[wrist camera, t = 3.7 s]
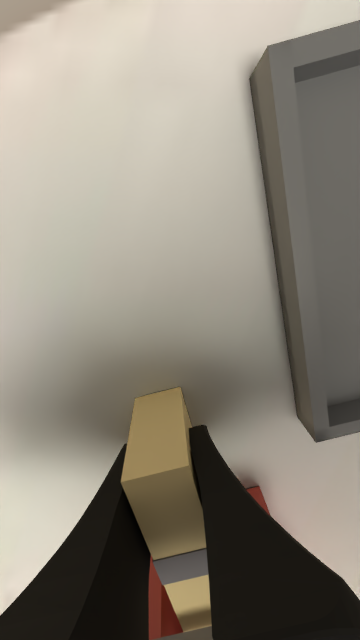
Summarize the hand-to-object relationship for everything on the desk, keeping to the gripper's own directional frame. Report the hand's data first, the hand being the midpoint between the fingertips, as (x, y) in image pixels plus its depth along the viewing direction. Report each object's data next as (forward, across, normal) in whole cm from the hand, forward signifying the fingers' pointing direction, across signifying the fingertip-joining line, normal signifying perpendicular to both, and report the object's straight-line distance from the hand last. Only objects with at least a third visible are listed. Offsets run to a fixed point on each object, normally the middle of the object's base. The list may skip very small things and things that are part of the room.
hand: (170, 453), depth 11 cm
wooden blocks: (+1, 0, +3) cm, 3 cm away
